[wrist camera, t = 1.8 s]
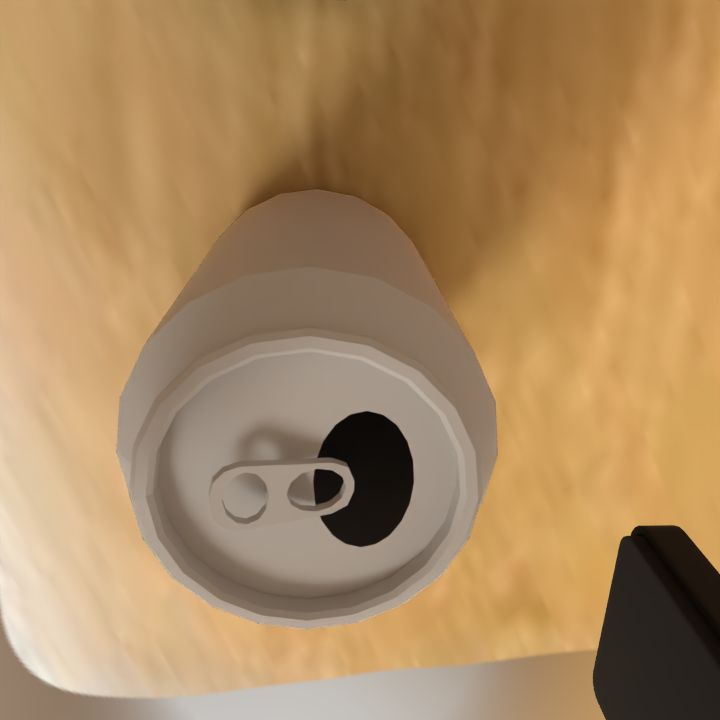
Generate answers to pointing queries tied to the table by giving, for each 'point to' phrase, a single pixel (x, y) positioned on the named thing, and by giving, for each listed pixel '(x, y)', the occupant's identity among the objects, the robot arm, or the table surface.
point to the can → (308, 420)
